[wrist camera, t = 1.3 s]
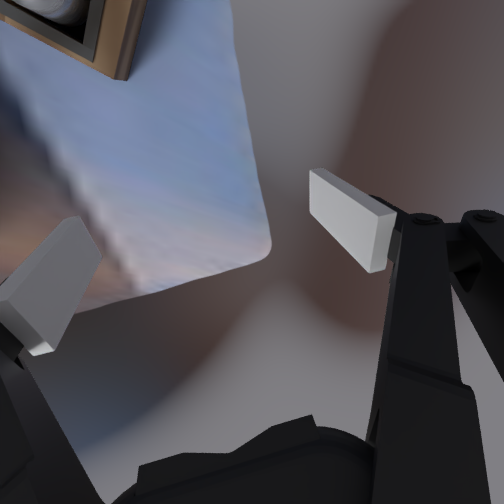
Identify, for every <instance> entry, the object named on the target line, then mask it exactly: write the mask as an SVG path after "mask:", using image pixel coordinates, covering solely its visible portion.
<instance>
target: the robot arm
mask: <svg viewBox="0 0 504 504" xmlns="http://www.w3.org/2000/svg"><path fill="white" fill-rule="evenodd" d="M310 213H311V214H312V215H313V216H314V217H315V218H316V219H317V220H318V221H319V222H320V223H321V224H322V225H323V226H324V227H325V229H327V231H328V232H329V233H330V234H331V235H332V236H333V237H334V238H335V239H336V240H337V241H338V242H339V243H340V244H341V245H342V246H343V247H344V248H345V249H346V250H347V251H348V252H349V253H350V254H351V255H352V256H353V257H354V258H355V259H356V260H357V261H358V262H359V263H360V264H361V265H362V267H363V268H364V269H365V270H366V271H367V272H368V273H372V272H376V271H380V270H384V269H385V267H386V263H387V258H389V259H390V260H391V261H392V262H393V263H394V265H393V269H392V274H391V278H390V282H389V283H390V288H389V295H388V302H387V309H386V315H385V322H384V328H383V335H382V341H381V348H380V354H379V361H378V368H377V374H376V382H375V388H374V394H373V401H372V408H371V414H370V419H369V424H368V429H367V434H366V440H365V441H363V440H362V439H360V438H358V437H356V436H354V435H352V434H350V433H347V432H345V431H342V430H338V429H335V428H329V427H320V426H318V427H317V426H316V424H315V422H314V419H313V416H312V415H308V416H304V417H301V418H298V419H294V420H291V421H288V422H284V423H281V424H278V425H274V426H271V427H270V428H268V429H267V430H265V431H264V432H262V433H261V434H259V435H258V436H256V437H254V438H253V439H251V440H250V441H249V442H247V443H245V444H244V445H242V446H241V447H239V448H238V449H236V450H235V451H233V452H230V453H181V454H177V455H174V456H171V457H168V458H164V459H161V460H157V461H154V462H151V463H147V464H144V465H141V466H139V469H138V470H139V471H138V478H137V483H135V484H134V485H132V486H131V487H130V488H129V489H127V490H126V491H125V492H123V493H122V494H121V495H120V496H119V497H118V498H117V499H116V500H115V501H114V502H113V503H112V504H491V500H490V493H489V486H488V480H487V472H486V465H485V459H484V453H483V445H482V438H481V431H480V424H479V418H478V410H477V405H476V399H475V395H474V392H473V390H472V388H471V387H470V386H468V385H465V384H463V383H462V381H461V375H460V366H459V357H458V348H457V339H456V330H455V320H454V311H453V302H452V293H451V285H452V287H453V289H454V290H455V292H456V294H457V296H458V297H459V300H460V302H461V303H462V305H463V307H464V309H465V310H466V313H467V315H468V316H469V318H470V320H471V322H472V324H473V325H474V328H475V329H476V331H477V333H478V335H479V337H480V339H481V340H482V343H483V344H484V346H485V348H486V350H487V352H488V354H489V356H490V357H491V359H492V361H493V363H494V365H495V367H496V368H497V370H498V372H499V374H500V376H501V378H502V380H503V382H504V215H502V214H499V213H496V212H495V211H491V210H490V211H489V210H470V211H467V212H465V213H464V215H463V217H462V220H461V222H460V223H444V222H443V220H442V219H440V218H439V217H437V216H434V215H431V214H425V213H414V214H408V213H406V212H404V211H403V210H401V209H399V208H397V207H396V206H393V205H392V204H390V203H389V202H387V201H385V200H383V199H382V198H380V197H376V196H373V195H367V194H365V193H363V192H362V191H360V190H358V189H357V188H355V187H353V186H352V185H350V184H348V183H347V182H345V181H343V180H342V179H340V178H338V177H337V176H335V175H333V174H332V173H330V172H328V171H327V170H325V169H323V168H318V169H313V170H310ZM101 259H102V255H101V253H100V252H99V250H98V248H97V246H96V244H95V243H94V241H93V239H92V237H91V236H90V234H89V232H88V230H87V229H86V227H85V225H84V223H83V221H82V220H81V218H80V216H75V217H70V218H65V219H64V220H63V221H62V222H61V223H60V224H59V225H58V226H57V227H56V228H55V229H54V230H53V231H52V232H51V233H50V234H49V235H48V236H47V237H46V239H45V240H44V241H43V242H42V243H41V244H40V245H39V246H38V247H37V248H36V249H35V250H34V251H33V252H32V253H31V254H30V255H29V256H28V257H27V258H26V259H25V261H24V262H23V263H22V264H21V265H20V266H19V267H18V268H17V269H16V270H15V271H14V272H13V273H12V274H11V275H10V276H9V277H8V278H6V279H5V280H4V281H3V282H2V283H1V284H0V504H105V503H104V502H103V501H102V499H101V498H100V497H99V495H98V493H97V492H96V490H95V488H94V486H93V484H92V483H91V481H90V479H89V477H88V475H87V474H86V472H85V470H84V468H83V466H82V465H81V463H80V461H79V459H78V457H77V456H76V454H75V452H74V450H73V448H72V447H71V445H70V443H69V441H68V439H67V437H66V436H65V434H64V432H63V430H62V428H61V427H60V425H59V423H58V421H57V419H56V418H55V416H54V414H53V412H52V411H51V409H50V407H49V405H48V403H47V401H46V400H45V398H44V396H43V394H42V392H41V390H40V389H39V387H38V385H37V383H36V382H35V380H34V378H33V376H32V374H31V372H30V371H29V369H28V367H27V365H26V363H25V362H24V361H23V360H22V359H21V358H20V357H19V356H18V354H19V353H20V351H21V350H22V348H23V347H25V348H26V349H27V350H28V351H29V352H30V353H31V354H32V355H33V356H36V355H39V354H44V353H48V352H52V351H55V349H56V347H57V345H58V343H59V341H60V339H61V337H62V335H63V333H64V331H65V329H66V327H67V326H68V324H69V322H70V320H71V318H72V316H73V314H74V312H75V310H76V308H77V306H78V304H79V302H80V300H81V298H82V296H83V294H84V292H85V290H86V288H87V286H88V284H89V283H90V281H91V279H92V277H93V275H94V273H95V271H96V269H97V267H98V265H99V263H100V261H101Z"/></svg>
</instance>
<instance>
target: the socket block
mask: <svg viewBox="0 0 504 504" xmlns="http://www.w3.org/2000/svg"><path fill="white" fill-rule="evenodd" d="M146 4H147V0H91V1H90V6H89V12H88V18H87V23H86V29H85V35H84V40H83V41H81V40H79V39H77V38H75V37H74V36H72V35H70V34H68V33H66V32H65V31H63V30H61V29H59V28H57V27H56V26H54V25H52V24H50V23H49V22H47V21H45V20H44V16H42V15H40V14H38V13H35V12H33V11H31V10H29V9H27V8H25V7H23V6H21V5H19V4H17V3H16V2H14V1H12V0H0V20H2V21H4V22H6V23H8V24H10V25H12V26H13V27H15V28H17V29H19V30H21V31H23V32H25V33H27V34H29V35H30V36H32V37H34V38H36V39H38V40H40V41H42V42H44V43H46V44H47V45H49V46H51V47H53V48H55V49H57V50H59V51H61V52H63V53H65V54H66V55H68V56H70V57H72V58H74V59H76V60H78V61H80V62H82V63H83V64H85V65H87V66H89V67H91V68H93V69H95V70H97V71H99V72H100V73H102V74H104V75H106V76H108V77H110V78H112V79H114V80H123V81H127V79H128V75H129V71H130V67H131V63H132V59H133V55H134V51H135V48H136V44H137V40H138V36H139V32H140V28H141V24H142V20H143V16H144V12H145V8H146Z"/></svg>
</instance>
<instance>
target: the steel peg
mask: <svg viewBox="0 0 504 504" xmlns="http://www.w3.org/2000/svg"><path fill="white" fill-rule="evenodd" d="M12 1H14V2H16V3H17V4H19V5H21V6H23V7H25V8H27V9H29V10H31V11H33V12H35V13H38V14H40V15H42V16H44V17H46V18H48V19H50V20H52V21H54V22H56V23H58V24H60V25H63V26H66V27H77V26H79V25H81V24H83V23H84V22H85V21H86V20H87V18H88V12H89V6H90V1H91V0H12Z"/></svg>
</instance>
